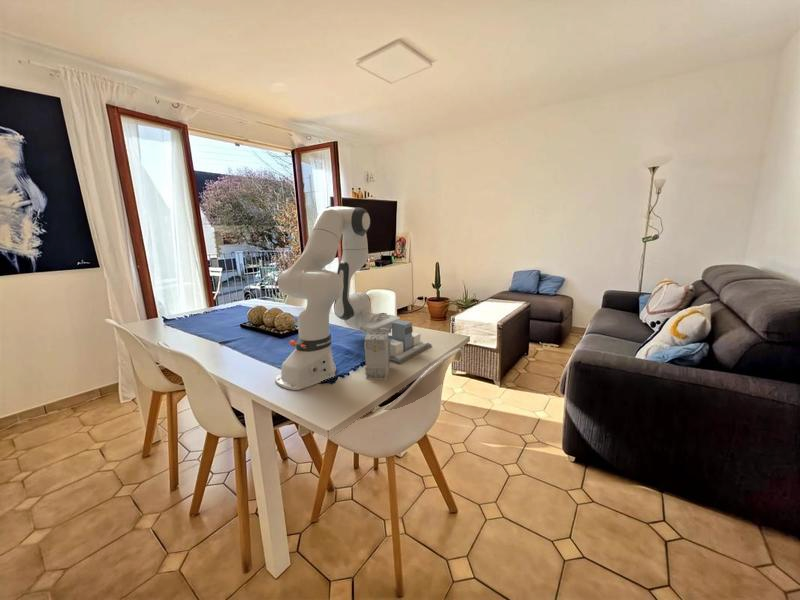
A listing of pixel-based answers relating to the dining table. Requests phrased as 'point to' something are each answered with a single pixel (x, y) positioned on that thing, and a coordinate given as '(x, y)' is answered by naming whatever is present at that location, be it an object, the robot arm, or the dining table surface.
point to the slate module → (403, 333)
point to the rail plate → (401, 356)
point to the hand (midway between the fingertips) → (396, 328)
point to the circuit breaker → (377, 355)
